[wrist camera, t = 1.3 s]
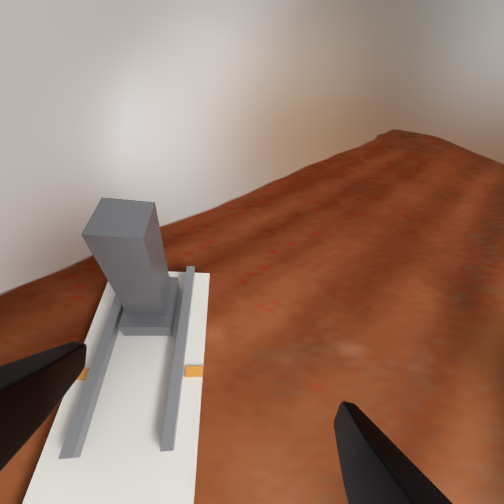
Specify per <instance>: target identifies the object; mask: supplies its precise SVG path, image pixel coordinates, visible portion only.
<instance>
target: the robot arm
mask: <svg viewBox="0 0 504 504" xmlns="http://www.w3.org/2000/svg"><path fill="white" fill-rule="evenodd" d="M86 352H87V346H86V344H84V343H80V342H75V341H73V342H70V343H67V344H64V345H61V346H58V347H55V348H52V349H49V350H46V351H43V352H40V353H37V354H35V355H32V356H29V357H26V358H23V359H20V360H17V361H14V362H11V363H8V364H5V365H2V366H0V471H1V470H2V469H3V468H4V467H5V466H6V464H7V463H8V462H9V461H10V460H11V459H12V458H13V457H14V455H15V454H16V453H17V452H18V451H19V450H20V449H21V447H22V446H23V445H24V444H25V443H26V442H27V441H28V440H29V438H30V437H31V436H32V435H33V434H34V433H35V432H36V430H37V429H38V428H39V427H40V426H41V425H42V424H43V422H44V421H45V420H46V419H47V418H48V416H49V415H50V414H51V413H52V411H53V410H54V409H55V407H56V406H57V405H58V403H59V402H60V401H61V399H62V398H63V397H64V395H65V394H66V393H67V391H68V390H69V389H70V387H71V386H72V385H73V383H74V382H75V381H76V379H77V378H78V377H79V375H80V374H81V373H82V371H83V369H84V367H85V363H86ZM334 430H335V436H336V442H337V448H338V454H339V460H340V466H341V472H342V477H343V482H344V486H345V491H346V495H347V499H348V503H349V504H452V503H451V502H450V501H449V499H448V498H447V497H446V496H445V495H444V494H443V493H442V492H441V491H440V490H439V489H438V488H437V487H436V486H435V485H434V484H433V483H432V482H431V481H430V480H429V479H428V478H427V477H426V476H425V475H424V474H423V473H422V472H421V471H420V470H419V469H418V468H417V467H416V466H415V465H414V464H413V463H412V462H411V461H410V460H409V459H408V458H407V457H406V456H405V455H404V454H403V453H402V452H401V451H400V450H399V449H398V448H397V447H396V445H395V444H394V443H393V442H392V441H391V440H390V439H389V438H388V437H387V436H386V435H385V434H384V433H383V432H382V431H381V430H380V429H379V428H378V427H377V426H376V425H375V424H374V423H373V422H372V421H371V420H370V419H369V418H368V417H367V416H366V415H365V414H364V413H363V412H362V411H361V410H360V409H359V408H358V407H357V406H356V405H355V404H353V403H350V402H345V401H343V402H341V404H340V406H339V409H338V411H337V414H336V417H335V420H334Z"/></svg>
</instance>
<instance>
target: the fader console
mask: <svg viewBox="0 0 504 504" xmlns="http://www.w3.org/2000/svg"><path fill="white" fill-rule="evenodd" d="M168 274H169V277H178V282H179V292H178V299H177V305H176V311H175V317H174V324H173V330H172V336H124V335H123V333H122V332H121V331H120V329H119V328H118V325H119V322H120V319H121V315H122V312H123V309H124V308H123V306H122V304H121V302H120V301H119V299H118V297H117V295H116V294H115V292H114V290H113V288H112V287H111V285H110V283H109V281H108V283H107V285H106V288H105V290H104V293H103V295H102V298H101V301H100V303H99V306H98V308H97V311H96V314H95V316H94V319H93V321H92V324H91V327H90V329H89V332H88V334H87V337H86V340H85V342H84V344H86V346H87V352H86V363H85V367H84V369H83V371H82V373H81V374H80V375H79V377H78V378H77V379H76V381H75V382H74V383H73V385H72V386H71V387H70V389H69V390H68V391H67V393H66V394H65V395H64V397H63V399H62V402H61V404H60V407H59V410H58V412H57V415H56V417H55V420H54V423H53V425H52V428H51V430H50V433H49V435H48V438H47V441H46V443H45V446H44V448H43V451H42V454H41V456H40V459H39V461H38V464H37V467H36V469H35V472H34V474H33V477H32V480H31V482H30V485H29V487H28V490H27V492H26V495H25V498H24V500H23V503H22V504H194V494H195V479H196V465H197V451H198V436H199V422H200V407H201V393H202V379H203V364H204V350H205V335H206V321H207V307H208V292H209V277H210V273H195V266H187V270H186V272H170V271H168Z"/></svg>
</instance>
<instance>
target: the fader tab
mask: <svg viewBox="0 0 504 504" xmlns="http://www.w3.org/2000/svg"><path fill="white" fill-rule="evenodd" d="M82 236H83V238H84V239H85V241H86V243H87V245H88V247H89V248H90V250H91V251H92V254H93V255H94V257H95V259H96V261H97V262H98V264H99V266H100V268H101V269H102V271H103V273H104V275H105V276H106V278H107V280H108V281H109V283H110V285H111V287H112V288H113V290H114V292H115V294H116V295H117V297H118V299H119V301H120V302H121V304H122V306H123V308H124V309H123V312H122V315H121V319H120V322H119V325H118V328H119V329H120V331H121V332H122V333H123V335H124V336H172V330H173V324H174V317H175V311H176V305H177V299H178V292H179V282H178V277H169V274H168V269H167V263H166V258H165V253H164V248H163V243H162V237H161V232H160V227H159V222H158V217H157V211H156V207H155V202H143V201H133V200H123V199H112V198H101V200H100V202H99V204H98V206H97V207H96V209H95V211H94V213H93V214H92V216H91V218H90V220H89V222H88V224H87V226H86V227H85V229H84V231H83V233H82Z"/></svg>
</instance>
